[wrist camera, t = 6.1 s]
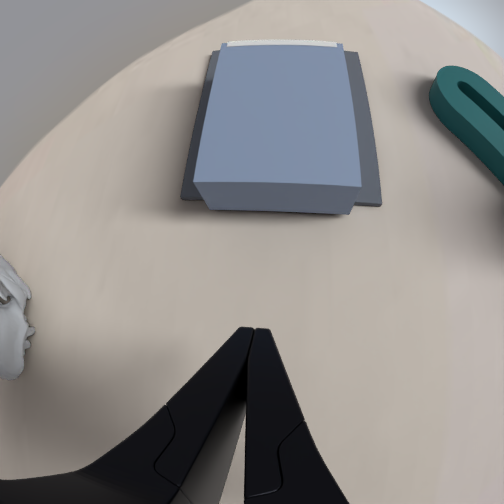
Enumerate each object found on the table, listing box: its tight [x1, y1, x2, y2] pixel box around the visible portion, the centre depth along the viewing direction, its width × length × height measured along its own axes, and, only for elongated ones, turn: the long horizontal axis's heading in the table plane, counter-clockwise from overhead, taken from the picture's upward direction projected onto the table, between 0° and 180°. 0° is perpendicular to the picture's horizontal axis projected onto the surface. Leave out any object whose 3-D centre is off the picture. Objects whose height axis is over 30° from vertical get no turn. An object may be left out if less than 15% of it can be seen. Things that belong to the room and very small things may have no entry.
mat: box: [180, 50, 382, 206], centre depth 20 cm, size 14×12×1 cm
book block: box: [193, 40, 362, 215], centre depth 17 cm, size 4×8×11 cm
